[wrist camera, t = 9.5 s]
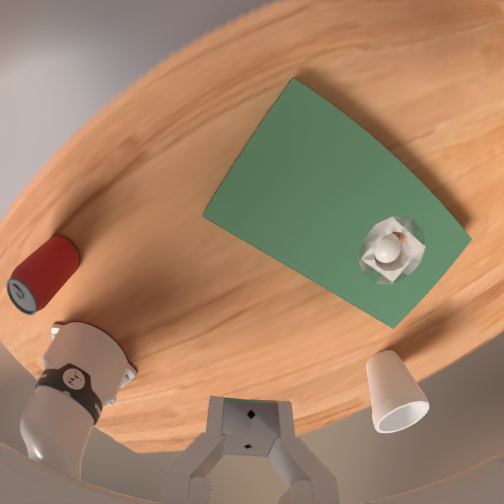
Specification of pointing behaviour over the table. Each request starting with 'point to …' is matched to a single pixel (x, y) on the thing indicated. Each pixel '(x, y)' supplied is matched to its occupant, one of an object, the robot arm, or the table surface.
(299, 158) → the green rectangular slab
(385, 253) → the ball
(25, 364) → the table surface
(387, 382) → the foam cup
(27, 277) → the beer can
